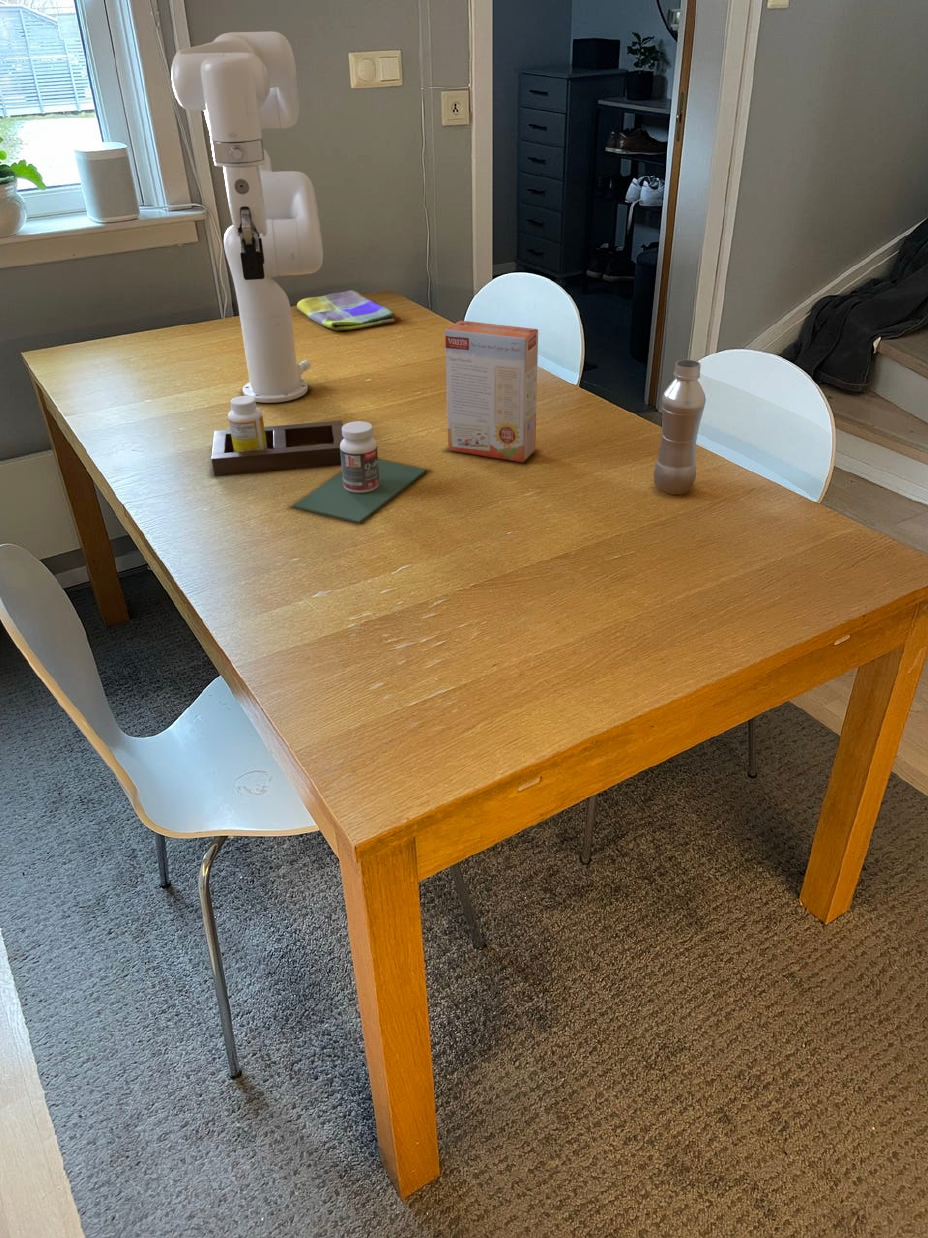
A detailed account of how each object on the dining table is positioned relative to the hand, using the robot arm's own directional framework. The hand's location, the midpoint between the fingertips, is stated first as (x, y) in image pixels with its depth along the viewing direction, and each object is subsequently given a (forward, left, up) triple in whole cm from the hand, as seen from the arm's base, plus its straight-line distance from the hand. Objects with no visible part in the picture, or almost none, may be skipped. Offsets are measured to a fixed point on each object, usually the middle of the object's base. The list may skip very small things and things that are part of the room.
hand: (254, 271), depth 149 cm
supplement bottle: (+9, +2, -28) cm, 30 cm away
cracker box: (-11, +37, -28) cm, 48 cm away
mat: (+11, +25, -28) cm, 39 cm away
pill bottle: (+11, +25, -28) cm, 39 cm away
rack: (+6, +6, -28) cm, 29 cm away
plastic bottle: (-10, +69, -28) cm, 75 cm away
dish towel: (-68, -31, -28) cm, 80 cm away
